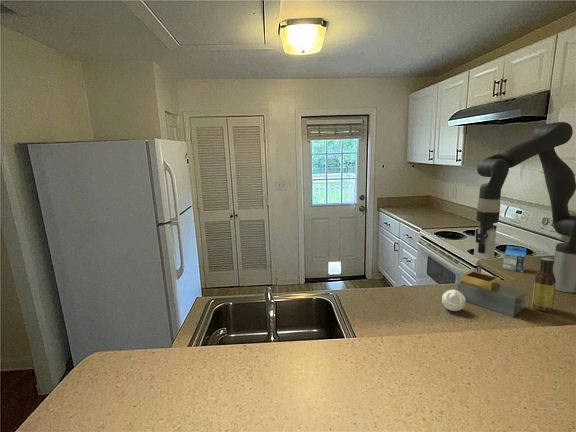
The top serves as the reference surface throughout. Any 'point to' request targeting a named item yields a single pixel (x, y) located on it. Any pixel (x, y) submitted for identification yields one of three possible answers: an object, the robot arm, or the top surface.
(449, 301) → the white swirled ball
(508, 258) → the label tape box
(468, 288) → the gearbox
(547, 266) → the sauce bottle
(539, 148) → the robot arm
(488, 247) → the skincare box
